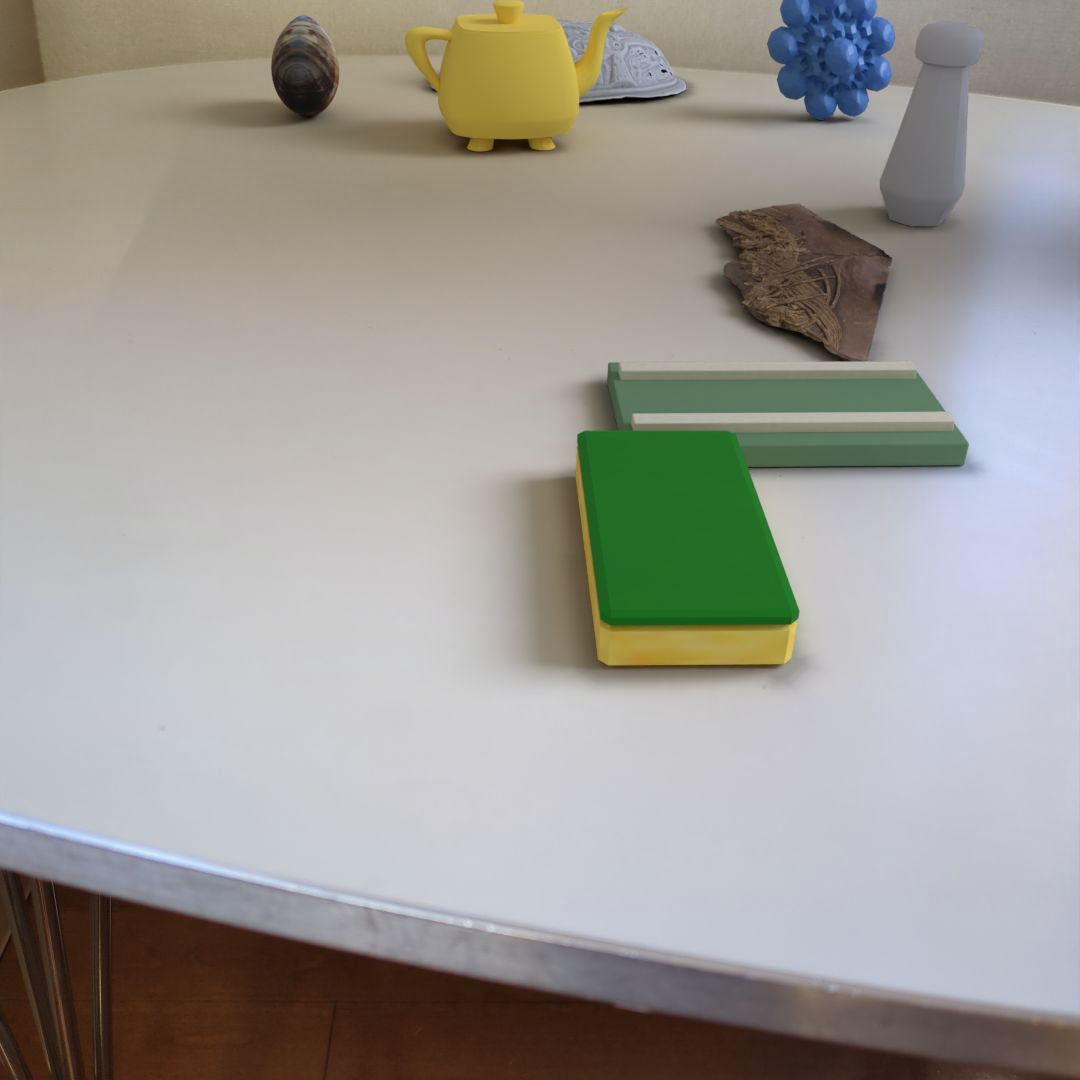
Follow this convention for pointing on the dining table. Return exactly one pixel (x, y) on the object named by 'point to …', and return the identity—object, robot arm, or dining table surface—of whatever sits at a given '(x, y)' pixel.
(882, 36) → the blue knobbly round piece
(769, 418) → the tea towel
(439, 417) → the dining table surface
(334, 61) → the seashell
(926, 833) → the dining table surface
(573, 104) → the teapot
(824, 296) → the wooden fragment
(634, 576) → the dish sponge
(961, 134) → the salt shaker
